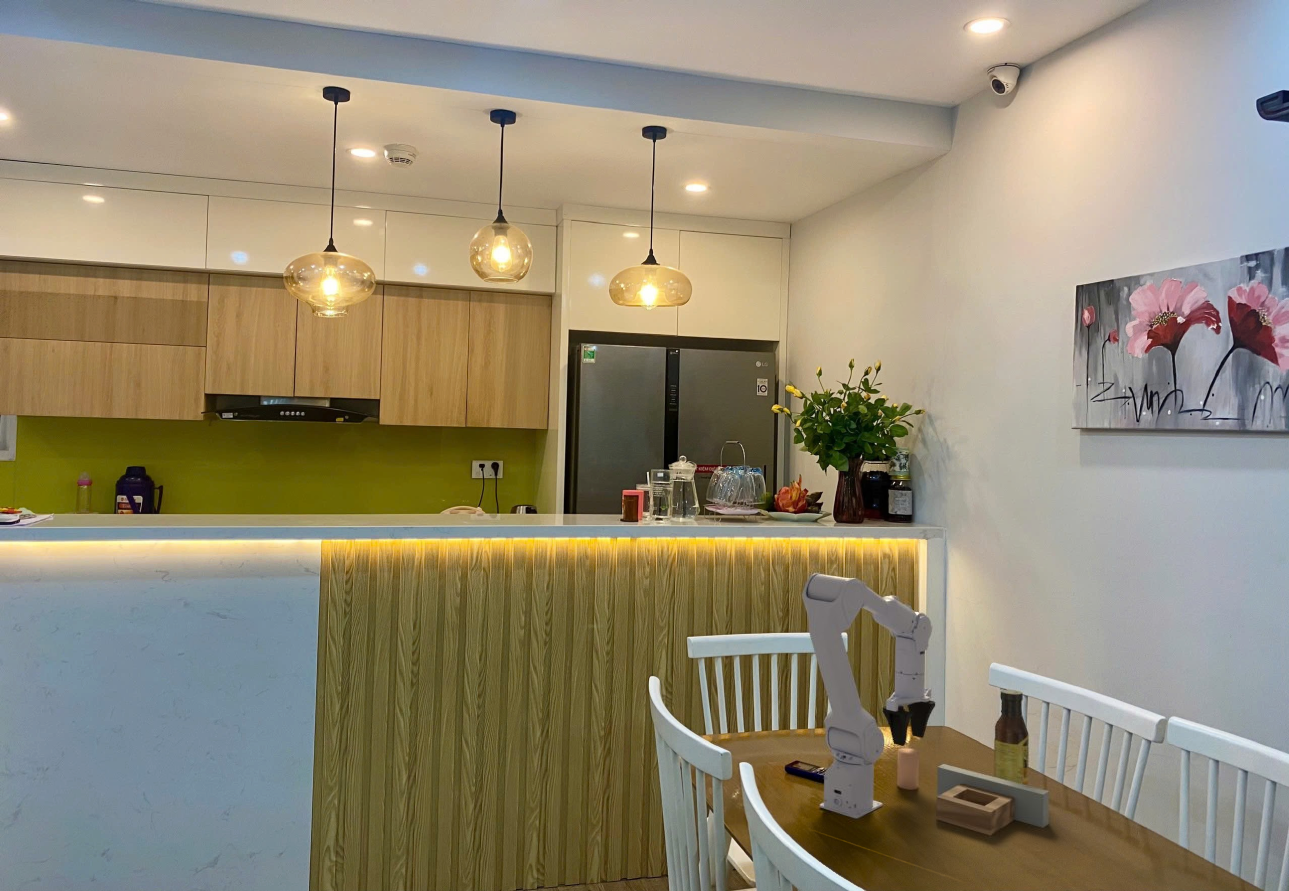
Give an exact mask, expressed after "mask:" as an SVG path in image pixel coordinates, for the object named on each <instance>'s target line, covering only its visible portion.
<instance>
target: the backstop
mask: <svg viewBox="0 0 1289 891" xmlns="http://www.w3.org/2000/svg"><path fill="white" fill-rule="evenodd" d="M936 774H937V779H936V780H937V782H936V783H937V786H936V787H937V790H936V797H937V796H939V795H941V794H943V793H945V792H947V791H949V790H950V789H952V788H954V787H956V786H958V785H960V784H965V785H969V786H973V787H976V788H980V789H984V790H988V791H991V792H995V793H999V794H1002V795H1006V796H1010V797H1014V820H1013V821H1019V822H1022V823H1024V824H1028V825H1031V826H1036V827H1039V828H1042V829H1043V828H1045V827H1047V826H1048V825H1049V816H1050V815H1049V810H1050V809H1049V808H1050V807H1049V806H1050V805H1049V804H1050V798H1049V797H1050V791H1049V790H1045V789H1042V788H1039V787H1035V786H1030V785H1028V786H1027V785H1023V784H1019V783H1015V782H1012V781H1008V780H1004V779H1000V778H996V777H994V776H991V775H987V774H983V773H979V772H975V771H973V770H968V769H964V768H960V767H957V766H952V765H949V764H946V763H942V764H941V765H938V766H937V773H936Z"/></svg>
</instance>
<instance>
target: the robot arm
mask: <svg viewBox="0 0 1289 891" xmlns="http://www.w3.org/2000/svg"><path fill="white" fill-rule="evenodd" d="M801 597H802V601H803V604H804V608H805V611H806V614H807V617H808V618H807V620H808V632H809V637H810V641H811V644H812V647H813V650H814V654H815V657H816V661H817V664H818V668H819V671H820V675H821V678H822V682H823V685H824V689H825V691H826V695H827V699H828V703H829V705H830V709H831V710H830V712H828V713H827V714H826V717H825V718H824V720H823V724H824V726H825V733H824V735H825V742H826V743H825V744H826V746H827V747H828V748H829V749H830V753H831V754H830V755H831V756H833V762H832V764H831V765H830V766H828V767H827V769H826V770H825V771H824V776H823V780H824V782H823V802H822V803H820V804H819V808H821V809H823V810H824V809H825V810H827V811H831V812H834V813H837V814H840V815H843V816H847V817H850V818H852V819H859V818H861V817H863V816H865V815H867V814H869V813H871V812H873V811H875V810H877V809H879V808H881V807H883V803H882V802H879V801H878V800H874V779H875V776H874V775H875V773H874V772H875V771H874V770H875V762H878V760H879V758H880V757H881V756H882V754H883V752H884V748H885V743H886V742H885V736H884V733H883V731H882V730H881V729H880V727H879V726H878V724H877V721H876V719H875V717H873V716H872V715H871V714H870V713H869V712H868V711H867V710H866V709H865V708H864V707H862V703H861V702H862V701H861V699H860V696H859V691H858V688H857V685H856V682H855V678H854V674H853V670H852V668H851V663H850V660H849V655H848V653H847V649H846V645H845V642H844V639H843V635H842V633H843V632H844V631H847V630H849V629H850V627H851V626H852V624H853V622H854V621H855V619H856V617H857V615H859V612H860V610H861V609H864V610H866V611H868V612H870V613H871V614H872V618H873V620H874V621H875V622H876V623H877V624H879V625H880V626H882V627H884V628H885V629H887V630H888V631H889V633H890V635H891V637H893V638H895V645H894V646H895V647H894V648H895V651H894V652H895V653H894V691H893V693H892V694H891V696H890V697H889V698H888V699H886V705H885V706H882V714H883V715H884V717H885V718H886V721H887V723H888V725H889V730H890V733H891V738H892V739H891V740H892V743H893V745H897V746H900V747H905V745H906V742H907V738H908V737H907V734H908V727H909V723H910V729H911V735H912V737H915V738H920V739H923V738H924V736H925V732H926V728H927V725H928V721H929V719H930V716H931V714H932V712H933V710H934V708H935V707H936V702H935V701H934V700H931V699H932V688H928V687H926V686H925V685H926V684H925V682H926V681H925V680H926V678H925V676H926V651H927V650H928V647H929V640H930V637H931V635H932V633H933V632H932V631H933V625H932V622H931V620H930V618H929V617H928V616H927V615H926V614H925V613H924V612H919V611H914V610H913V609H912V606H911V605H908V604H904V603H902V602H901V601H900V598H899V596H896V595H892V594H890V595H886V596H880V595H879V594H878V593H876V592H875V591H874V590H872V589H871V588H870V587H868V585H867V583H866V582H865V581H861V580H860V579H858V578H856V577H853V578H852V577H850V578H849V577H843V576H835V575H829V574H823V573H821V572H815V573H812V574H811V575H810V576H809V577H808V579H807V580H806V583H805V584H804V588H803V590H802V594H801ZM906 706H907V708H908V711H907V710H906V709H905V708H904V707H906Z"/></svg>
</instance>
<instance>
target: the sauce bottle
mask: <svg viewBox="0 0 1289 891" xmlns="http://www.w3.org/2000/svg"><path fill="white" fill-rule="evenodd" d="M1023 696H1024V695H1023V692H1022V691H1019V690H1015V689H1001V690H1000V700H1001V703H1000V704H1001V709H1000V713H1001V715H1000V717H999V718H998V720H997V721H996V722H995V725H994V740H993V742H994V743H993V744H994V746H993V749H994V750H993V751H994V754H993V756H994V758H993V761H994V762H993V765H994V766H993V770H994V771H993V774H994V775H993V777H996V778H1000V779H1004V780H1008V781H1012V782H1015V783H1019V784H1023V785H1027V786H1029V765H1030V764H1029V761H1030V760H1029V755H1030V754H1029V750H1030V748H1029V739H1030V738H1029V735H1030V734H1029V732H1028V729H1027V725H1026V723H1025V719H1024V717H1023V711H1022V710H1023V707H1022V705H1023V704H1022V702H1023V699H1024V698H1023Z"/></svg>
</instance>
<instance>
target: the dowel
mask: <svg viewBox="0 0 1289 891" xmlns="http://www.w3.org/2000/svg"><path fill="white" fill-rule="evenodd" d="M919 757H920V752H919V750H916V749H914V748H907V747H906V748H904V747H903V748H899V749H897V779H896V780H897V783H896V784H897V787H898V788H900V789H904V790H910V791H911V790H918V789H919V769H920V768H919V766H920V762H919V761H920V758H919Z"/></svg>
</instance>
